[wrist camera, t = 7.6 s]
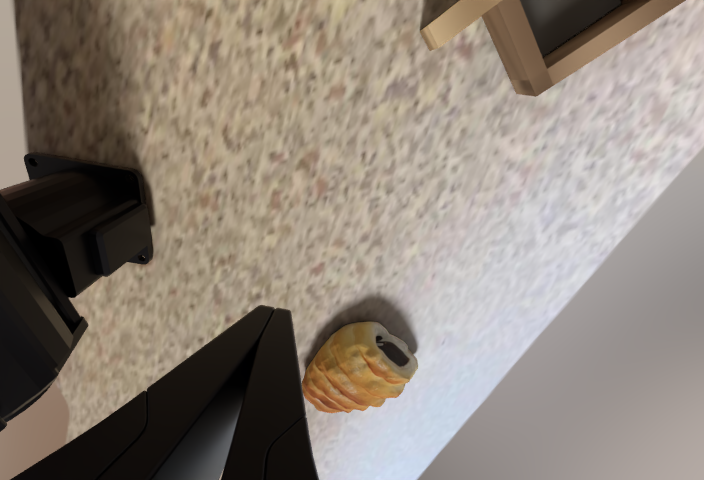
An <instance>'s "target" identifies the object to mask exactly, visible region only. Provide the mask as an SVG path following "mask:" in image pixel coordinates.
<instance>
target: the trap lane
mask: <svg viewBox="0 0 704 480" xmlns="http://www.w3.org/2000/svg"><path fill="white" fill-rule="evenodd" d="M684 1H685V0H459V1H458V2H457V3H455V4H454V5H453V6H452V7H450V8H449V9H448V10H446V11H445V12H444V13H443V14H441V15H440V16H439V17H438V18H436V19H435V20H434V21H432V22H431V23H430V24H429V25H427V26H426V27H425V28H424V29H422V30H421V31H420V33H421V35H422V37H423V39H424V41H425V42H426V44H427V46H428V48H429V50H430V51H431V50H434V49H437V48H439V47H441V46H442V45H443V44H445V43H446V42H447V41H449V40H450V39H451V38H453V37H454V36H455V35H457V34H458V33H459V32H461V31H462V30H463V29H465V28H466V27H467V26H469V25H470V24H471V23H473V22H474V21H475V20H477V19H478V18H479V17H481V16H482V18H483V20H484V22H485V24H486V27H487V29H488V31H489V33H490V36H491V38H492V40H493V42H494V45H495V47H496V49H497V51H498V54H499V56H500V58H501V60H502V63H503V65H504V67H505V69H506V72H507V74H508V76H509V78H510V80H511V83H512V85H513V87H514V89H515V92H516V94H522V95H529V96H538V95H539V94H541V93H543V92H544V91H546V90H547V89H549V88H550V87H552V86H553V85H555V84H556V83H558V82H560V81H561V80H563V79H564V78H566V77H567V76H569V75H570V74H572V73H574V72H575V71H577V70H578V69H580V68H581V67H583V66H584V65H586V64H588V63H589V62H591V61H592V60H594V59H595V58H597V57H598V56H600V55H602V54H603V53H605V52H606V51H608V50H609V49H611V48H612V47H614V46H616V45H617V44H619V43H620V42H622V41H623V40H625V39H626V38H628V37H630V36H631V35H633V34H634V33H636V32H637V31H639V30H640V29H642V28H643V27H645V26H647V25H648V24H650V23H651V22H653V21H654V20H656V19H657V18H659V17H661V16H662V15H664V14H665V13H667V12H668V11H670V10H671V9H673V8H675V7H676V6H678V5H679V4H681V3H682V2H684ZM620 4H621V5H620ZM618 5H620V6H619V7H617V6H618ZM615 7H617V8H616V9H614V8H615ZM612 9H614V10H613V11H611V10H612ZM609 11H611V12H610V13H608V12H609ZM606 13H608V14H607V15H605V14H606ZM603 15H605V16H604V17H602V16H603ZM601 17H602V18H601ZM599 18H601V19H599ZM598 19H599V20H598ZM596 20H598V21H597V22H595V21H596ZM593 22H595V23H594V24H592V23H593ZM590 24H592V25H591V26H589V25H590ZM587 26H589V27H588V28H586V27H587ZM584 28H586V29H585V30H583V29H584ZM581 30H583V31H582V32H580V31H581ZM578 32H580V33H579V34H577V33H578ZM575 34H577V35H576V36H574V35H575ZM572 36H574V37H573V38H571V37H572ZM569 38H571V39H570V40H568V39H569ZM566 40H568V41H567V42H565V41H566ZM564 42H565V43H564ZM562 43H564V44H562ZM561 44H562V45H561ZM559 45H561V46H559ZM558 46H559V47H558ZM556 47H558V48H556ZM555 48H556V49H555ZM553 49H555V50H554V51H552V50H553ZM550 51H552V52H551V53H549V52H550ZM547 53H549V54H548V55H546V54H547ZM544 55H546V56H545V57H543V56H544ZM542 57H543V58H542Z"/></svg>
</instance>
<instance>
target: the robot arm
mask: <svg viewBox="0 0 704 480" xmlns="http://www.w3.org/2000/svg"><path fill="white" fill-rule="evenodd" d="M35 160H36V161H37V163H38V164H37V163H36V162H35ZM24 162H25V165H26V169H27V172H28V175H29V179H30V180H29V181H26V182H23V183H20V184H17V185H13V186H11V187H7V188H4V189H1V190H0V432H1V431H2V430H3V429H4V428H5V427H6V426H7V423H6V422H8V421H9V420H11V419H13V418H14V417H16V416H17V415H19V414H20V413H22V412H23V411H25V410H26V409H27V408H28V407H30V406H31V405H32V404H33V403H34V402H36V401H37V400H38V399H39V398H40V397H41V396H42V395H43V394H44V393H45V392H46V391H47V390H48V388H49V387H50V386H51V385H52V383H53V382H54V381H55V379H56V378H57V376H58V374H59V372H60V370H61V369H62V367H63V366H64V364H65V362H66V361H67V359H68V358H69V356H70V354H71V353H72V351H73V350H74V348H75V346H76V345H77V343H78V341H79V340H80V338H81V337H82V335H83V333H84V332H85V330H86V329H87V327H88V323H87V322H86V320H85V319H84V317H82V316H81V317H80V315H79V313H78V312H77V310H76V309H75V307H74V306H73V304H72V303H71V301H70V300H69V298H68V297H70V298H75V297H76V296H77V295H79V294H80V293H81V292H82V291H84V290H85V289H86V288H88V287H89V286H90V285H91V284H93V283H94V282H95V281H97V280H98V279H99V278H100V277H102V276H105V277H108V276H110V275H111V274H112V273H113V272H115V271H116V270H117V269H118V268H120V267H121V266H122V265H123V264H125V263H126V262H131V263H137V264H147V263H149V262H150V261H151V260H152V258H153V255H152V247H151V242H152V237H151V230H150V222H149V214H148V208H147V206H146V202H145V194H144V187H143V179H142V176H141V174H140V173H139V172H138V171H137V170H135V169H132V168H126V167H120V166H114V165H108V164H102V163H97V162H91V161H85V160H79V159H73V158H67V157H61V156H56V155H50V154H44V153H38V152H33V153H29V154H26V155H25V156H24ZM130 175H131V176H132V177H133V178H134V181H133V180H132V179H131V178H130ZM142 255H143V256H144V257H145V258H144V257H142ZM224 466H225V467H224ZM223 469H224V471H223ZM222 471H223V474H222V478H221V480H319V478H318V474H317V470H316V466H315V462H314V458H313V453H312V447H311V442H310V436H309V430H308V423H307V418H306V411H305V404H304V397H303V390H302V383H301V377H300V370H299V363H298V356H297V349H296V343H295V336H294V329H293V322H292V315H291V311H290V310H288V309H282V308H276V309H275V308H274V307H270V306H264V305H260V306H258V307H256V308H255V309H254V310H252V311H251V312H249V313H248V314H247V315H245V316H244V317H243V318H241V319H240V320H239V321H237V322H236V323H235V324H233V325H232V326H231V327H229V328H228V329H227V330H225V331H224V332H223V333H221V334H220V335H218V336H217V337H216V338H214V339H213V340H212V341H210V342H209V343H208V344H206V345H205V346H204V347H202V348H201V349H200V350H198V351H197V352H196V353H194V354H193V355H192V356H190V357H189V358H187V359H186V360H185V361H183V362H182V363H181V364H179V365H178V366H177V367H175V368H174V369H173V370H171V371H170V372H169V373H167V374H166V375H165V376H163V377H162V378H161V379H159V380H158V381H156V382H155V383H154V384H152V385H151V386H150V387H148V388H147V391H143V392H141V393H140V394H139V395H137V396H136V397H135V398H133V399H132V400H131V401H129V402H128V403H127V404H125V405H124V406H122V407H121V408H119V409H118V410H117V411H115V412H114V413H112V414H111V415H110V416H108V417H107V418H105V419H104V420H103V421H101V422H100V423H98V424H97V425H95V426H94V427H92V428H91V429H89V430H87V431H86V432H84V433H83V434H81V435H80V436H78V437H77V438H75V439H74V440H72V441H71V442H69V443H68V444H66V445H64V446H63V447H61V448H60V449H58V450H57V451H55V452H53V453H52V454H50V455H49V456H47V457H46V458H44V459H42V460H41V461H39V462H38V463H36V464H34V465H33V466H31V467H30V468H28V469H27V470H25V471H24V472H22V473H20V474H18V475H17V476H15V477H14V478H12V479H11V480H219V478H220V476H221V473H222Z"/></svg>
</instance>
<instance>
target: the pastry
mask: <svg viewBox="0 0 704 480" xmlns="http://www.w3.org/2000/svg"><path fill="white" fill-rule="evenodd" d="M417 369H418V363H417V359H416V357H415V356H414V355H413V354H412V353H411V351H410V350H408V346H407V345H406V344H405V343H404V342H403V341H402V340H401V339H399V338H397V337H396V336H393V335H391V334H389V333H388V331H387V329H386V328H384V327H383V326H382V325H381V324H379V323H377V322H369V321H368V322H356V323H351V324H348V325H345V326H343V327H342V328H341V329H339V330H338V331H337V332H335V333H334V334H332V335H331V337H330V338H329V339H328V340H327V341H326V342H325V344H324V345H323V346H322V347H321V348H320V350H319V351H318V353H317V354H316V356H315V357H314V359H313V360H312V362H311V363H310V365H309V366H308V368H307V369H306V372H305V376H304V379H303V381H302V390H303V394H304V396H305V398H306V399H307V400H308V401H309V402H310V403H312V404H314V406H315V408H316V409H317V410H319V411H323V412H327V413H336V412H342V411H345V412H347V413H349V412H351V411H352V410H354V409H357V410H361V411H364V410H366V409H367V408H368V407H369V406H373V407H380V406H381V405H382V404H383V403H384V402H385V399H386V398H396V397H398V396H399V395H400V394H401V393H402V392H403V389H404V387H405V384H406V383H408V382H409V381H410V379H411V378H412V377H413V375H414V374H415V371H416V370H417Z"/></svg>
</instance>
